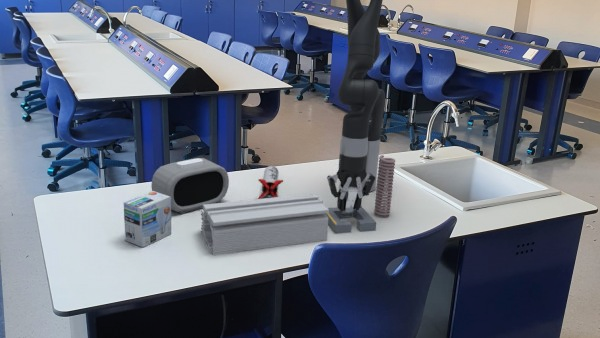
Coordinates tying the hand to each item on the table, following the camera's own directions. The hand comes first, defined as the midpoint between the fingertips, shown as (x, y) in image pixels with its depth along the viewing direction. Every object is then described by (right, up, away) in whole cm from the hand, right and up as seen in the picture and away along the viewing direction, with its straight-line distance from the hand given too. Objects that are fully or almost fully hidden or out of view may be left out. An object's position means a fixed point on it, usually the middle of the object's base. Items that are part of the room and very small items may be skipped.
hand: (348, 209), depth 170 cm
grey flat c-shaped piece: (0, -4, +1) cm, 4 cm away
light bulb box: (-53, -7, -13) cm, 55 cm away
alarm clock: (-46, +1, +9) cm, 47 cm away
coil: (+10, -2, +8) cm, 13 cm away
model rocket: (-23, +5, +24) cm, 34 cm away
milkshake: (0, -2, +1) cm, 2 cm away
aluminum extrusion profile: (-23, -7, -9) cm, 26 cm away
